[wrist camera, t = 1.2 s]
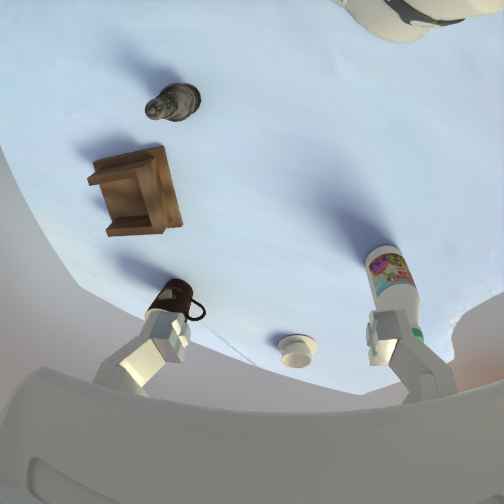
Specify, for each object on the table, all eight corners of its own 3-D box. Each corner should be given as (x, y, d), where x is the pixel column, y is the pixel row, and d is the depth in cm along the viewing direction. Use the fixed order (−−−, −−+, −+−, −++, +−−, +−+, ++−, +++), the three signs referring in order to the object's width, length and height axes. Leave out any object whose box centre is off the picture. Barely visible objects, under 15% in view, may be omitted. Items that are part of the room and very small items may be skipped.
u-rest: (95, 160, 45) (78, 171, 41) (163, 146, 43) (149, 156, 38) (118, 228, 54) (105, 243, 50) (183, 224, 51) (172, 240, 47)
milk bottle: (398, 274, 51) (425, 357, 35) (362, 277, 53) (380, 363, 37) (404, 242, 47) (440, 325, 31) (365, 244, 49) (390, 332, 33)
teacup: (280, 331, 66) (279, 346, 62) (321, 336, 65) (322, 351, 61) (274, 353, 72) (273, 368, 68) (311, 358, 71) (311, 372, 67)
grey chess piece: (202, 118, 40) (172, 135, 30) (167, 117, 40) (128, 135, 30) (203, 81, 36) (172, 86, 26) (167, 82, 36) (127, 89, 27)
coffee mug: (160, 295, 64) (144, 328, 56) (163, 269, 59) (145, 302, 51) (207, 312, 65) (196, 346, 57) (214, 287, 60) (202, 323, 52)
